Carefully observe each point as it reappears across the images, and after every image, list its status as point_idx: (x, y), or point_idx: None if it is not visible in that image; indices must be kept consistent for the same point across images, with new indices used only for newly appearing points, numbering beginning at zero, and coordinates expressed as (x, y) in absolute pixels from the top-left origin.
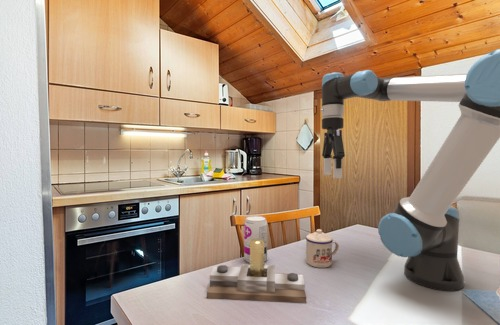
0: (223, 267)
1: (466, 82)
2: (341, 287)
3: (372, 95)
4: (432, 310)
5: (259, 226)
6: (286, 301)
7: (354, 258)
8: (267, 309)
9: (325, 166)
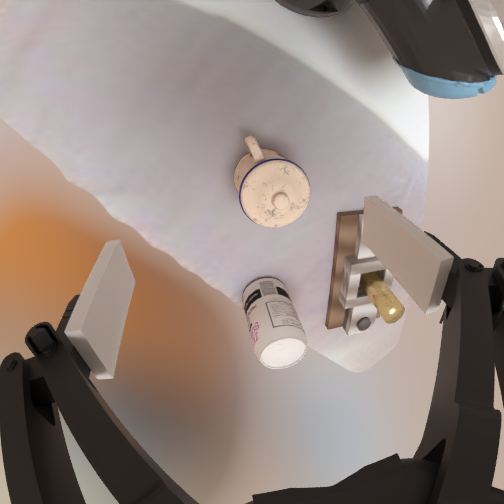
0: (364, 324)
1: None
2: (362, 148)
3: None
4: None
5: (305, 334)
6: None
7: (221, 89)
8: None
9: (120, 315)
